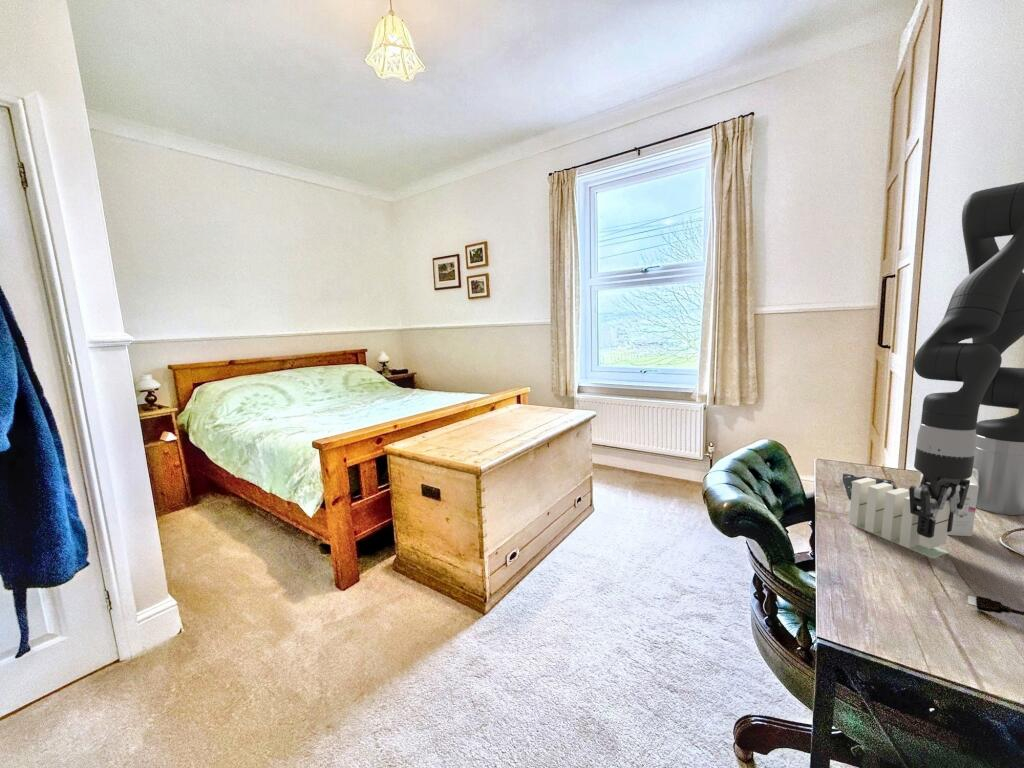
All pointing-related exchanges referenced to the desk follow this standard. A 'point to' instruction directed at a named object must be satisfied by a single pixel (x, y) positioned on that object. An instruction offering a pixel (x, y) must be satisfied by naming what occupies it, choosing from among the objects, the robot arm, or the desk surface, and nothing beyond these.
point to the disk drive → (850, 478)
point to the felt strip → (920, 549)
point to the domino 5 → (938, 527)
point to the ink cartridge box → (966, 509)
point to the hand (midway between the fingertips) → (934, 532)
